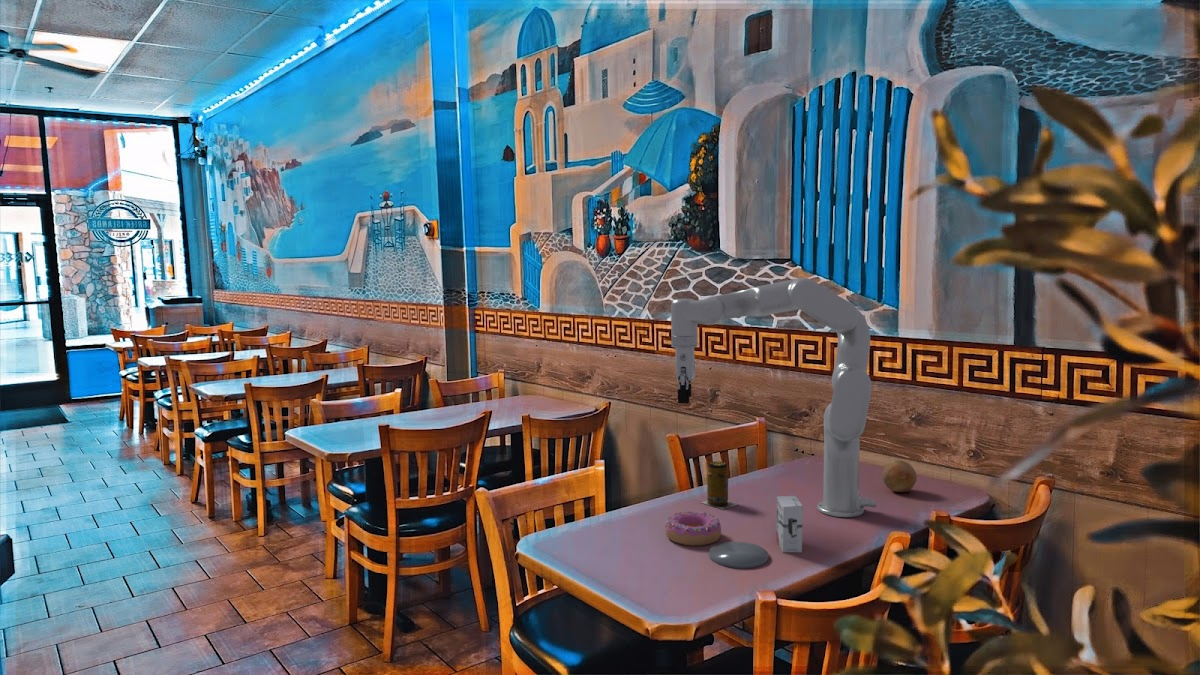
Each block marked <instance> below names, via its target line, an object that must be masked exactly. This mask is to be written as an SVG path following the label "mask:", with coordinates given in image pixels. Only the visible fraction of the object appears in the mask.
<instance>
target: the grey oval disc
mask: <svg viewBox="0 0 1200 675" xmlns="http://www.w3.org/2000/svg"><path fill="white" fill-rule="evenodd" d="M708 552H709V554H708V556H709V559H710V560H711V561H713V563H716V564H717V565H720V566H723V567H727V568H731V569H754V568H757V567H761V566H763V565H765V564H767V562H768V561H769V553H768V550H766V549H765V548H763V547H762V546H760V545H757V544H754V543H752V542H751V543H749V542H743V541H727V542H725V541H724V542H719V543H716V544H714V545H712V546H711V547H710V548H709V551H708Z"/></svg>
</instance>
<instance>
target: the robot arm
mask: <svg viewBox="0 0 1200 675" xmlns="http://www.w3.org/2000/svg"><path fill="white" fill-rule="evenodd" d="M670 306H671V307H670V311H671V312H670V314H671V316H670V320H671V321H670V322H671V323H670V324H671V325H670V326H671V329H670V330H671V347H672V348H674V349H675V378H676V381H677V382H678V386H677V403H678V404H689V403H690V398H691V397H692V382H694V380H695V378H696V370H695V368H696V367H695V366H696V364H695V360H696V359H695V358H696V357H695V348H697V347H698V346H699V345H698V343H699V342H698V324H700V325H708V326H712V325H716V324H719V323H720V322H721V321H725V320H730V319H737V318H743V317H766V316H771V315H777V314H781V313H786V312H791V311H796V310H800V311H801V312H803V313H805V314H806V315H808V316H809V317H811V318H812V319H814V320H816V321H817V322H819V323H821V324H823V325H824V326H826V327H828V328H829V329H831V330H833V331H834V332H836V334H837V346H836V356H835V360H834V361H835V362H834V366H833V372H832V375H831V384H832V388H833V393H832V398H831V402H830V403H829V404H828V405H827V407H826V408H825V410H824V413H823V445H824V446H823V489H822V491H823V495H822V496H823V497H822V500H821V501H819V502H818V503H817V505H816V506H817V510H818V511H819V512H820V513H822V514H824V515H827V516H831V517H837V518H855V517H860V516H861V515H863V514H864V512H865V507H869V508H877V500H875V499H871V498H869V497H865V498H864V497H862V496H860V494H859V489H860V488H859V485H860V484H859V482H860V481H859V480H860V478H859V477H860V457H861V456H860V452H861V451H860V447H861V446H860V443H861V442H860V440H861V439H860V437H861V435H863V433H864V430H865V429H866V428H865V427H866V423H867V420H868V419H867V417H868V412H869V406H870V403H871V402H870V401H871V394H872V380H871V378H870V375H869V374H868V373H867V372H868V362H869V357H870V350H871V333H870V332H871V331H870V328H869V325H868V322H867V320H866V318H865V317H864V315H863V314H862V312H861V311H860V310H859V309H858V308H857V307H856V305H854V304H853V303H852V302H850V301H849V300H847V299H844V297H842V296H840V295H838V294H836V293H835V292H833V291H831V290H829V289H827V288H826V287H824V286H823V285H821V284H819V283H818V282H817V281H815V280H813V279H812V278H809V277H800V278H799V277H798V278H794V279H789V280H788V279H787V280H784V281H780V282H779V281H778V282H773V283H768V284H762V285H758V286H754V287H750V288H747V289H745V290H739V291H733V292H728V293H725V294H718V295H714V296H710V297H706V298H704V299H697V300H695V299H693V298H676V299H673V300H672V301H671V305H670Z"/></svg>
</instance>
